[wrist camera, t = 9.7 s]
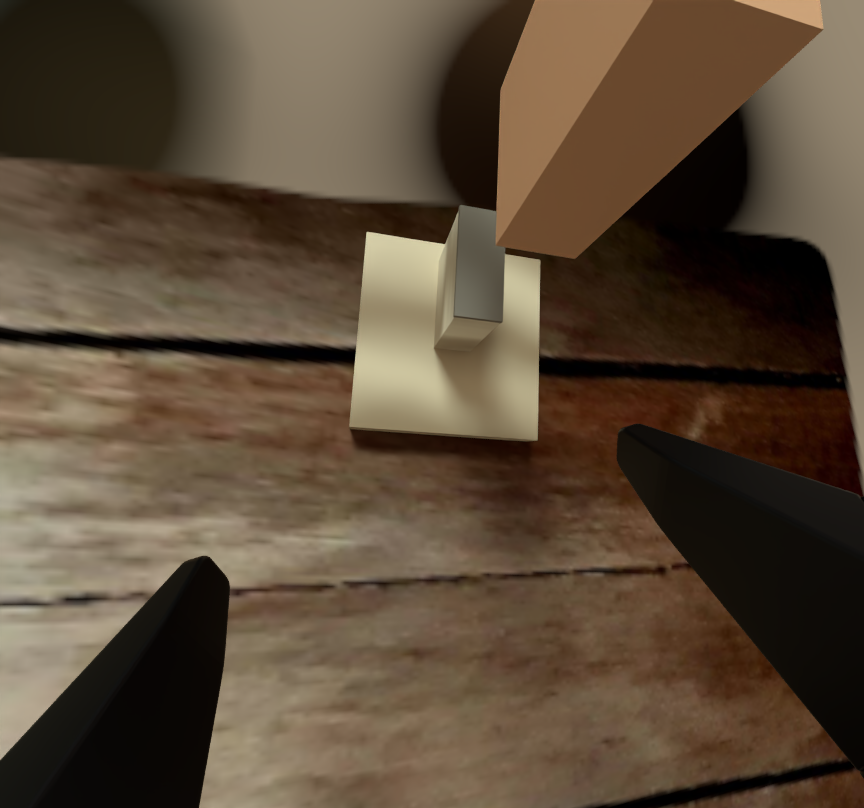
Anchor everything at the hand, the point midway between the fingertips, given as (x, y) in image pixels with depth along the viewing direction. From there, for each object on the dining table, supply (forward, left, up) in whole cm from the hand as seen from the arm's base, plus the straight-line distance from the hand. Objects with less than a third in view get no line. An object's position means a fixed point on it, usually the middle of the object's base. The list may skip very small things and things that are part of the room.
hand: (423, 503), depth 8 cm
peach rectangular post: (+5, -9, -1) cm, 10 cm away
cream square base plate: (+3, -8, -13) cm, 15 cm away
